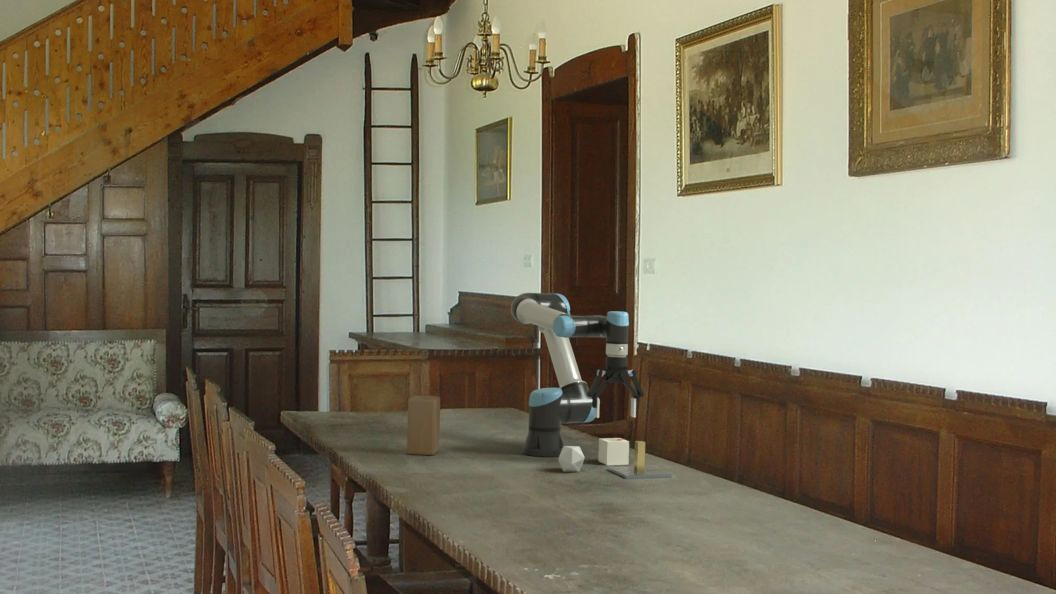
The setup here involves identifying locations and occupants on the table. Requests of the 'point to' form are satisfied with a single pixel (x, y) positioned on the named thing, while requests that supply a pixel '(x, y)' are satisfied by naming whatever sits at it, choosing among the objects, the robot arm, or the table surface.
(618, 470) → the base plate
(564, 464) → the die
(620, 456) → the cream open box
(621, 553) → the table surface
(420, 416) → the wooden block
